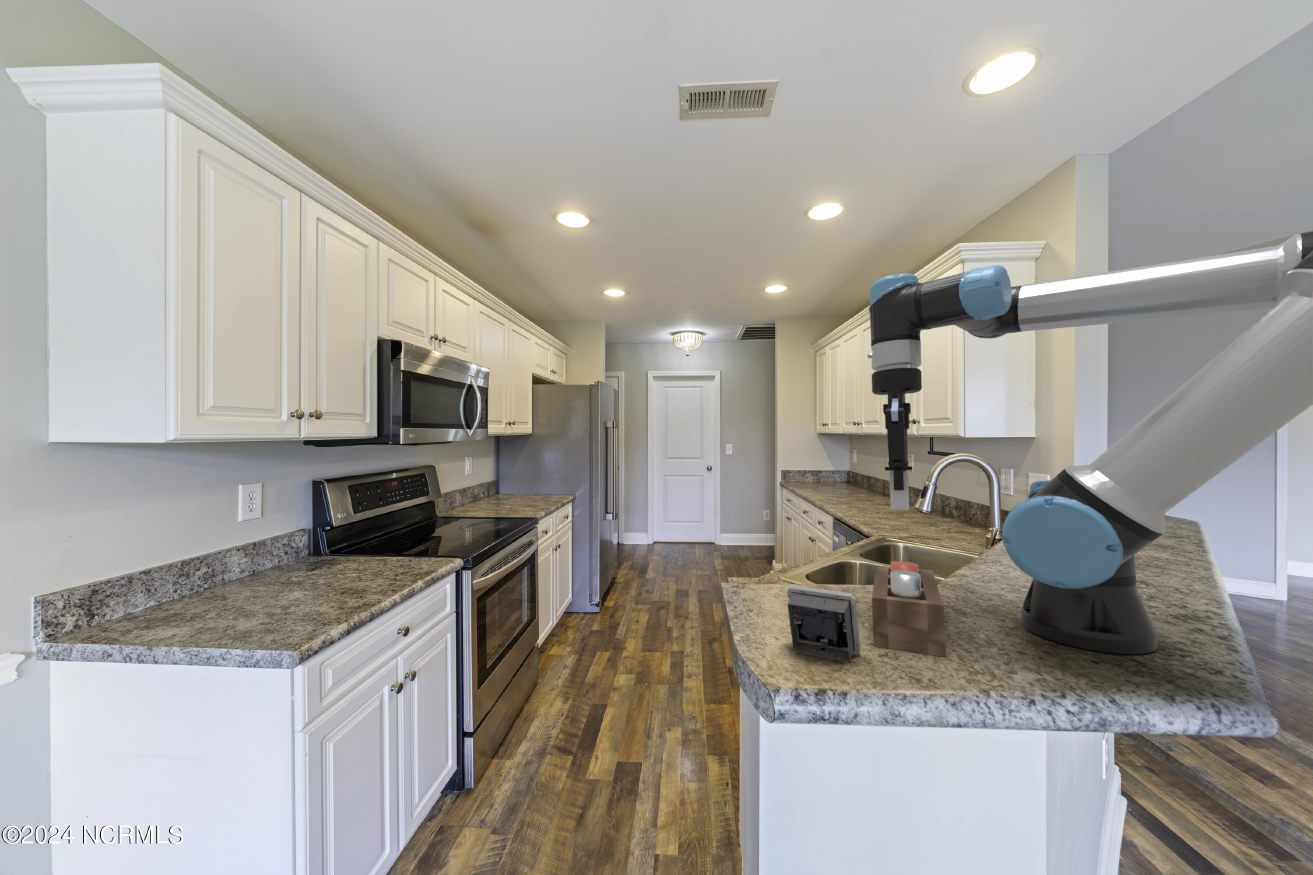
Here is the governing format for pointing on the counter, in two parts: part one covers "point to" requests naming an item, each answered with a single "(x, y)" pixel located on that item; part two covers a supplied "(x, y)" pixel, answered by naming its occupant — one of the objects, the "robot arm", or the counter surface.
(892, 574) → the metal plug
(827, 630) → the electrical switch
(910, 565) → the red plug
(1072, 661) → the counter surface
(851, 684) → the counter surface
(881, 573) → the brown wooden box
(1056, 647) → the counter surface
